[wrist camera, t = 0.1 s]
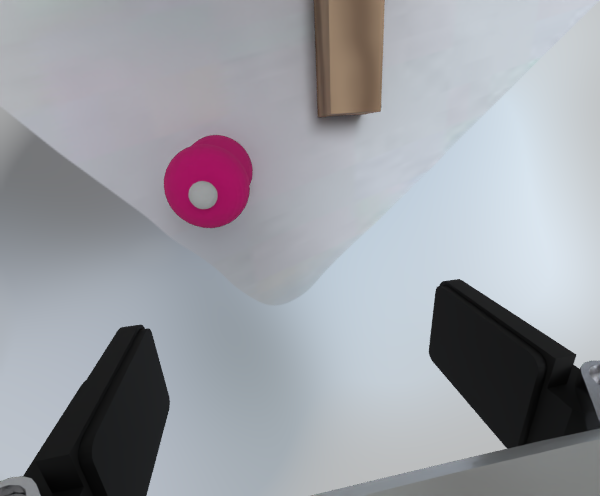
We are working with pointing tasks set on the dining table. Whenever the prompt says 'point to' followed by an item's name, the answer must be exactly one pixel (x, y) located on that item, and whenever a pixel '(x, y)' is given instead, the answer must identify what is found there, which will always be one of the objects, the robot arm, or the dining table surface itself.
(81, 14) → the dining table surface
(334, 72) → the brown wooden block
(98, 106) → the dining table surface
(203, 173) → the pepper mill
